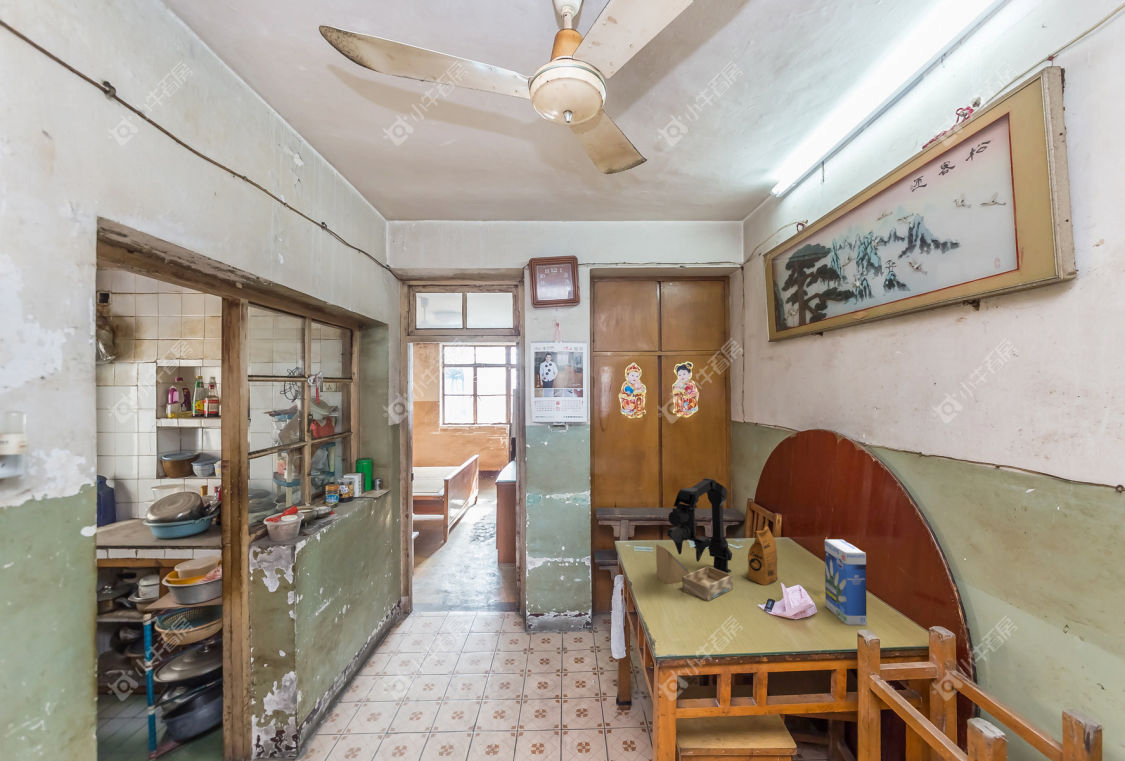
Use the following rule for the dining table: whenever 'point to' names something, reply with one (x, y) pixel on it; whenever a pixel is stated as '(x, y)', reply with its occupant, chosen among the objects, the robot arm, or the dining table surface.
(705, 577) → the carton
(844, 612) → the string lights box
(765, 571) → the coffee package
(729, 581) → the flap
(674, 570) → the sandwich container
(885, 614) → the dining table surface
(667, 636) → the dining table surface
